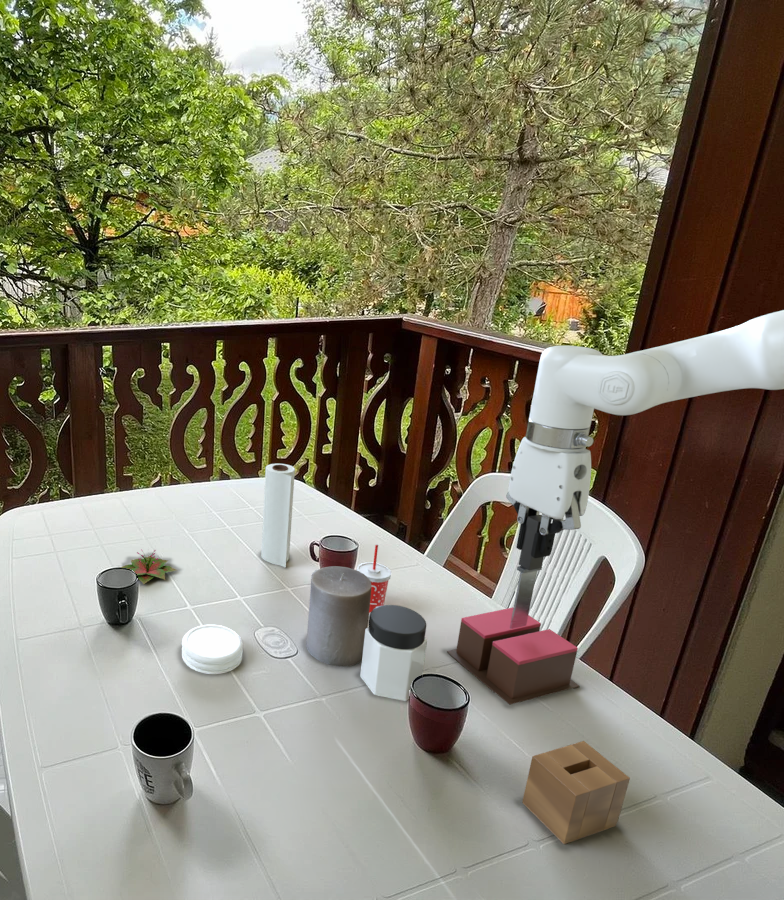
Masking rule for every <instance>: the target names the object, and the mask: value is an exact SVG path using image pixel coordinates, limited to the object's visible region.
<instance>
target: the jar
mask: <svg viewBox="0 0 784 900" xmlns="http://www.w3.org/2000/svg"><path fill="white" fill-rule="evenodd" d="M426 632H427V621H426V619H425V618H424V617H423V616H422V615H421V614H420V613H419V612H417V611H415V610H414V609H412V608H408V607H406V606H402V605H398V604H397V605H396V604H384V605H383V606H379V607H376V608H375V609H373V610H372V611H371V613H370V616H369V617H368V627H367V628H366V629H365V637H364V646H363V656H362V660H361V664H360V665H361V666H360V674H359V677H360V678H361V679H362V681H363V682H364V684H365V685H366V686H367V687H368V689H369V690H370V691H371V693H372V694H373V695H374V696H378V697H382V698H388V699H392V700H398V701H403V702H406V701H408V700H409V699H410V698H409V690H410V685H411V683H412V681H413V680H414V679H415V678H416V677H418V676H420V675H422V676H423V673H424V667H425V661H426V660H425V659H426V653H427V645H428V638H426Z"/></svg>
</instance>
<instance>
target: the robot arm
mask: <svg viewBox="0 0 784 900" xmlns="http://www.w3.org/2000/svg"><path fill="white" fill-rule="evenodd" d="M743 389H761V390H769V391H778V390H784V309H782V310H779V311H773V312H770V313H766V314H764V315H760V316H757V317H754V318H752V319H749V320H747V321H745V322H743V323H741V324H739V325H735V326H733V327H729V328H726V329H723V330H719V331H715V332H712V333H708V334H704V335H700V336H696V337H692V338H688V339H684V340H680V341H675V342H672V343H668V344H663V345H660V346H655V347H651V348H647V349H643V350H642V349H641V350H637V351H633V352H629V353H625V354H618V355H603V353H602V352H601V351H600V350H597V349H595V348H591V347H585V346H579V345H553V346H549V347H547V348H545V350H543V351H542V352H541V354H540V359H539V363H538V367H537V373H536V378H535V384H534V390H533V396H532V400H531V405H530V411H529V417H528V422H527V428H526V433H525V436H524V437H523V438H522V439H521V441H520V443H519V447H518V449H517V450H516V451H517V452H516V454H515V457H514V461H513V464H512V468H511V471H510V477H509V481H508V491H507V493H506V496H505V498H506V500H508V502H509V503H510V504H511V505H512V506H513V507H514V510H515V512H516V514H517V518H516V520H517V523H518V524H519V525H520V526H519V532H518V536H517V540H516V541H517V542H516V549H517V550H519V551H521V550H522V545H523V540H524V535H525V530H526V523H527V518H528V516H534V515H540V514H541V515H542V519H541V524H540V529H539V531H540V532H536V533H535V536H534V541H533V546H532V551H531V556H532V557H533V558H540V557H544V558H546V557H550V556H551V554H552V551H553V546H554V544H555V543H554V542H555V538H556V534H559V533H561V532H562V531H565V530H567V531H572V530H573V531H574V530H580V529H581V527H582V524H581V523H582V522H581V517H582V516H584V515H585V513H586V511H587V506H588V501H589V495H590V489H591V478H592V454H591V450H589V449H587V448H589V447H591V446H592V445H593V444H594V438H593V437H592V436H589V433H590V430H591V425H592V420H593V417H594V416H593V415H594V411H595V410H597V411H601V412H604V413H606V414H611V415H615V416H631V415H635V414H638V413H642V412H644V411H646V410H649V409H651V408H654V407H656V406H658V405H662V404H665V403H670V402H674V401H678V400H679V401H680V400H684V399H689V398H694V397H698V396H705V395H711V394H715V393H716V394H717V393H721V392H729V391H734V390H735V391H736V390H743ZM586 447H587V448H586ZM564 517H565V519H564Z"/></svg>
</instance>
